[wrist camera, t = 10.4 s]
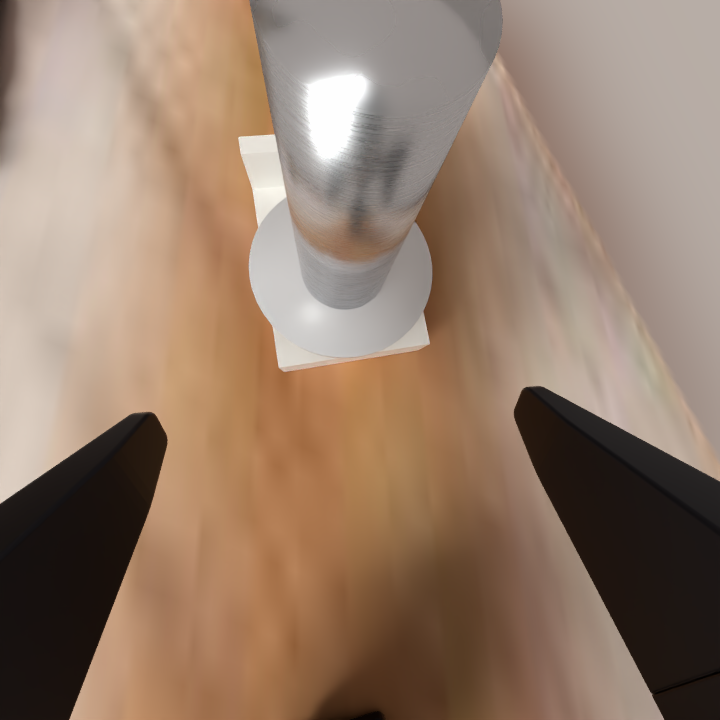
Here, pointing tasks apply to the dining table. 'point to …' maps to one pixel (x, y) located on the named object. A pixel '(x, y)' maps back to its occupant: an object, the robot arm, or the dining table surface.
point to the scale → (306, 314)
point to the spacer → (366, 122)
